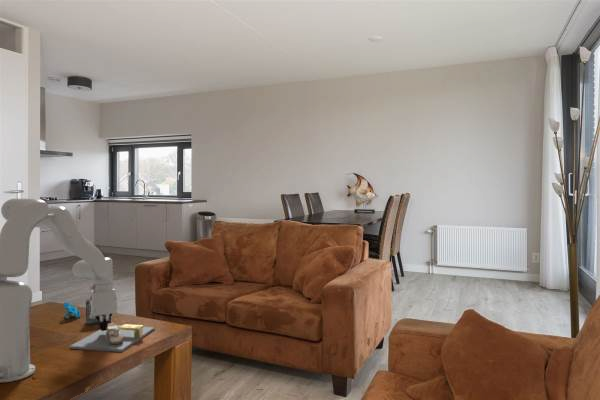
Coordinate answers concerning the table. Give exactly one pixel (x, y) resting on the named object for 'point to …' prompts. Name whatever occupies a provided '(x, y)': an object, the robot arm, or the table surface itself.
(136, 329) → the keeper
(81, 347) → the board
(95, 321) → the small box
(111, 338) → the link
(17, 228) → the robot arm
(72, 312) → the blue irregular piece
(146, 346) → the table surface
